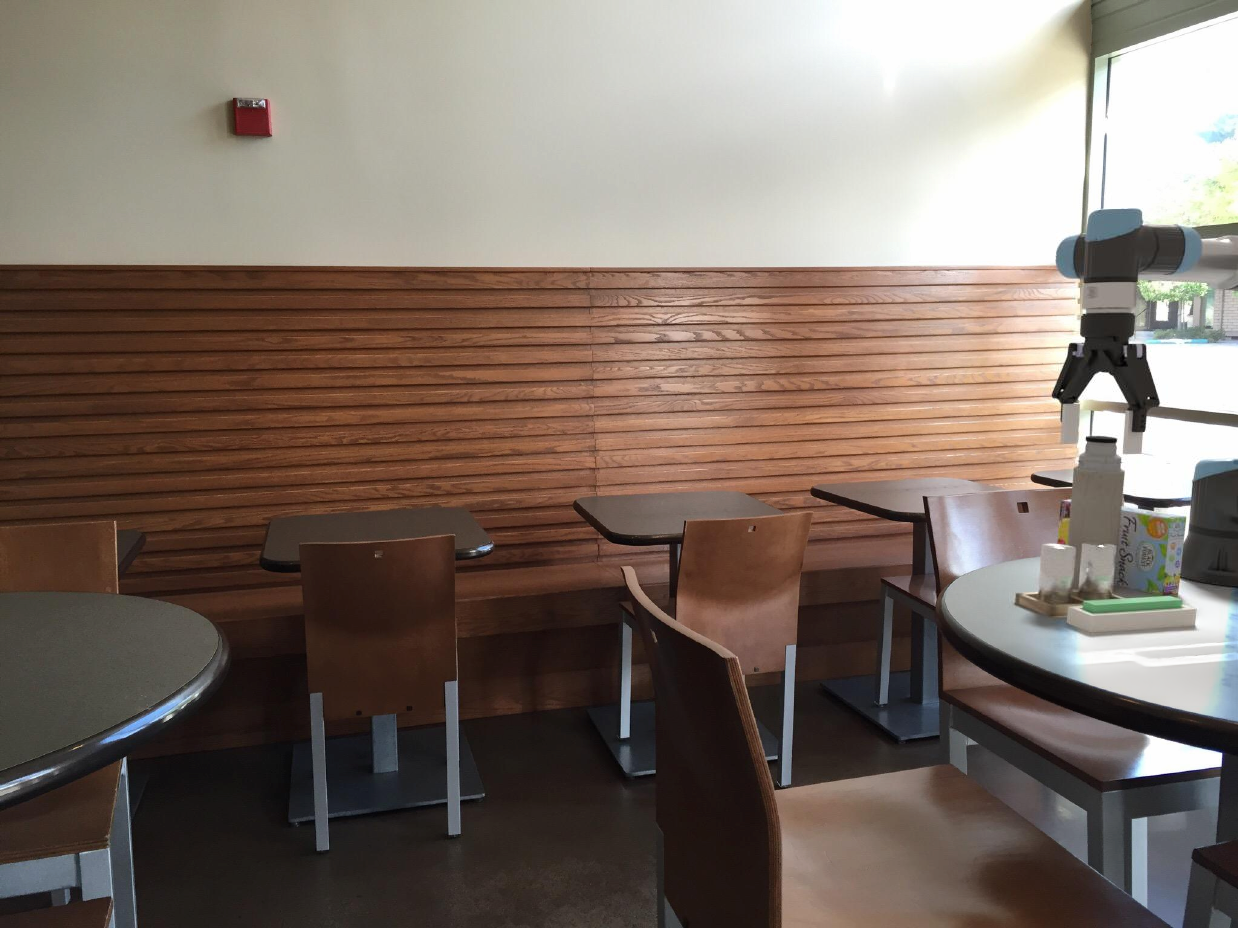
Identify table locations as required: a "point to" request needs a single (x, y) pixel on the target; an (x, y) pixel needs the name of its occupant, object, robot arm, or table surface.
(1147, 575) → the snack box
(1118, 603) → the green rectangular bar
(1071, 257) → the robot arm
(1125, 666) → the table surface
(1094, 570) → the cylinder
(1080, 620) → the housing
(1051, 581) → the billet
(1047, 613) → the wooden divided tray
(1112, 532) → the thermos bottle
